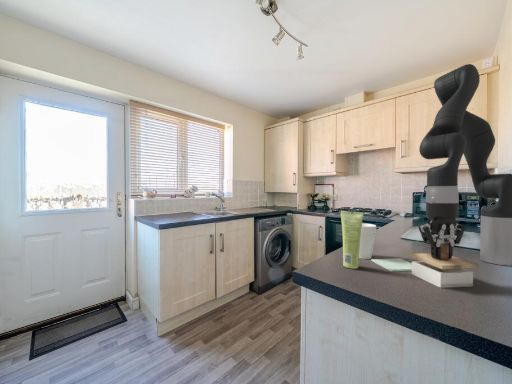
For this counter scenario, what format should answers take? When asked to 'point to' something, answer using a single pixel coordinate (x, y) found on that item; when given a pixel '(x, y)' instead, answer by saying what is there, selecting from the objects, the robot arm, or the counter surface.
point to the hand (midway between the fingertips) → (441, 257)
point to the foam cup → (367, 240)
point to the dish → (442, 275)
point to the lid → (444, 259)
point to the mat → (394, 264)
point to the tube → (351, 237)
